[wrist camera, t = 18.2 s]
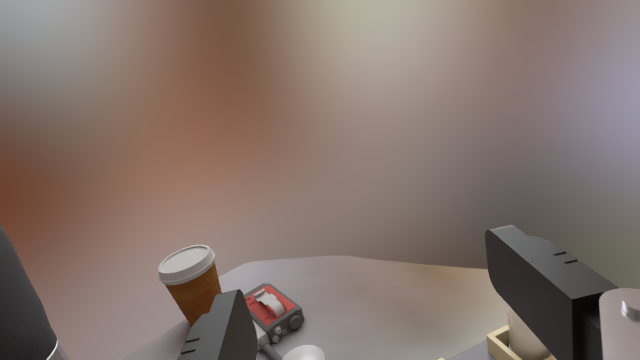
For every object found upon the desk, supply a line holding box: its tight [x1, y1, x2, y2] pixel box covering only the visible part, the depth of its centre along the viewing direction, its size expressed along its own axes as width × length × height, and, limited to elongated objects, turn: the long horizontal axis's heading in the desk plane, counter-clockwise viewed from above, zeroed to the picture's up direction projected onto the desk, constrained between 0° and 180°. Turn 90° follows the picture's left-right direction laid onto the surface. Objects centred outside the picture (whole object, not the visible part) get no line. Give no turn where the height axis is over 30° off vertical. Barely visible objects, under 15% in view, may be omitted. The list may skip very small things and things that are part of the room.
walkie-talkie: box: [244, 284, 304, 360], centre depth 55 cm, size 9×4×20 cm
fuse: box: [507, 304, 551, 360], centre depth 37 cm, size 4×4×13 cm
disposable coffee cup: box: [158, 245, 222, 326], centre depth 61 cm, size 10×10×12 cm
